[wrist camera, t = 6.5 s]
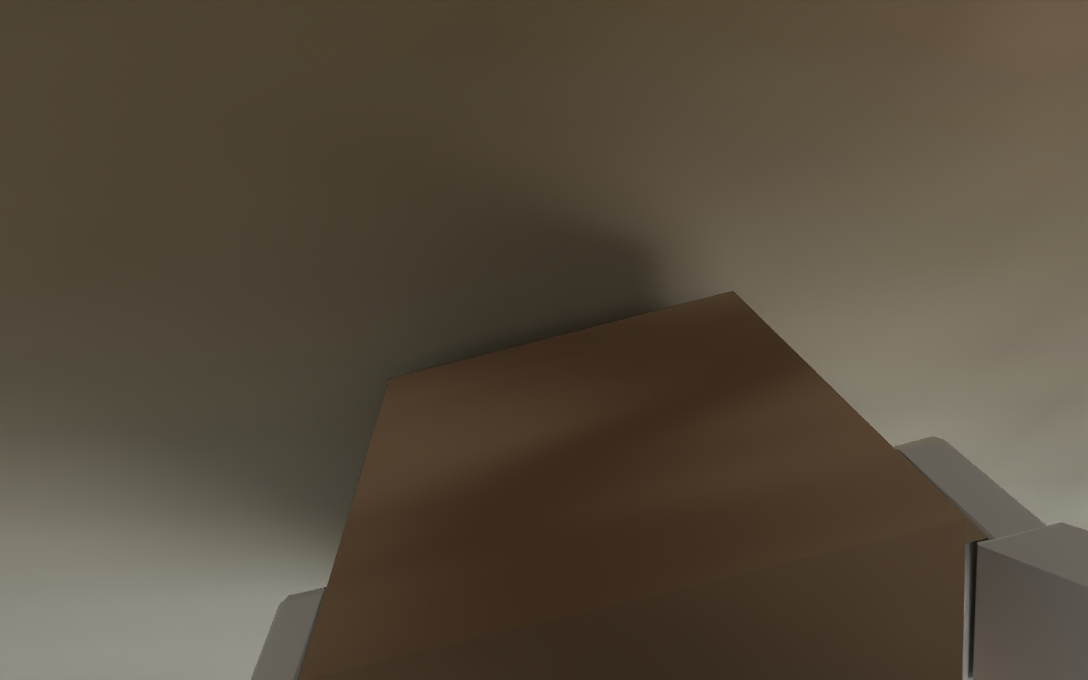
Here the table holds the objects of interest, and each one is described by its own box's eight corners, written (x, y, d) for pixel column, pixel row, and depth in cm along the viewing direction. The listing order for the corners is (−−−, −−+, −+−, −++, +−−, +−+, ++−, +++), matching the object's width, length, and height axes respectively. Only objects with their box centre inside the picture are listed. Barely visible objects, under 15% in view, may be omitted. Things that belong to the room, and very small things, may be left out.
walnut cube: (732, 290, 8) (965, 517, 4) (769, 559, 10) (957, 900, 6) (388, 378, 9) (298, 680, 4) (484, 630, 10) (483, 1010, 6)
